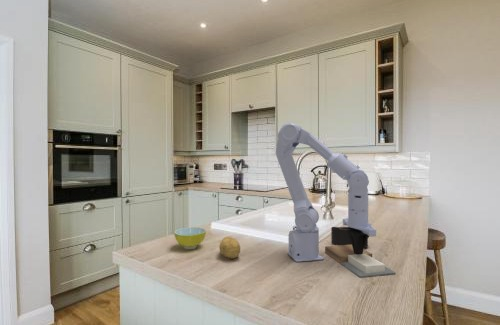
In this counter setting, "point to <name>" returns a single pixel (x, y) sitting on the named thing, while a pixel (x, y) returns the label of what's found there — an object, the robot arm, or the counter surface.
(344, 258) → the brown block
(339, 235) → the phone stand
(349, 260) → the cream rectangular tile
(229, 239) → the potato
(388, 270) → the mat
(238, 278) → the counter surface
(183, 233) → the bowl
